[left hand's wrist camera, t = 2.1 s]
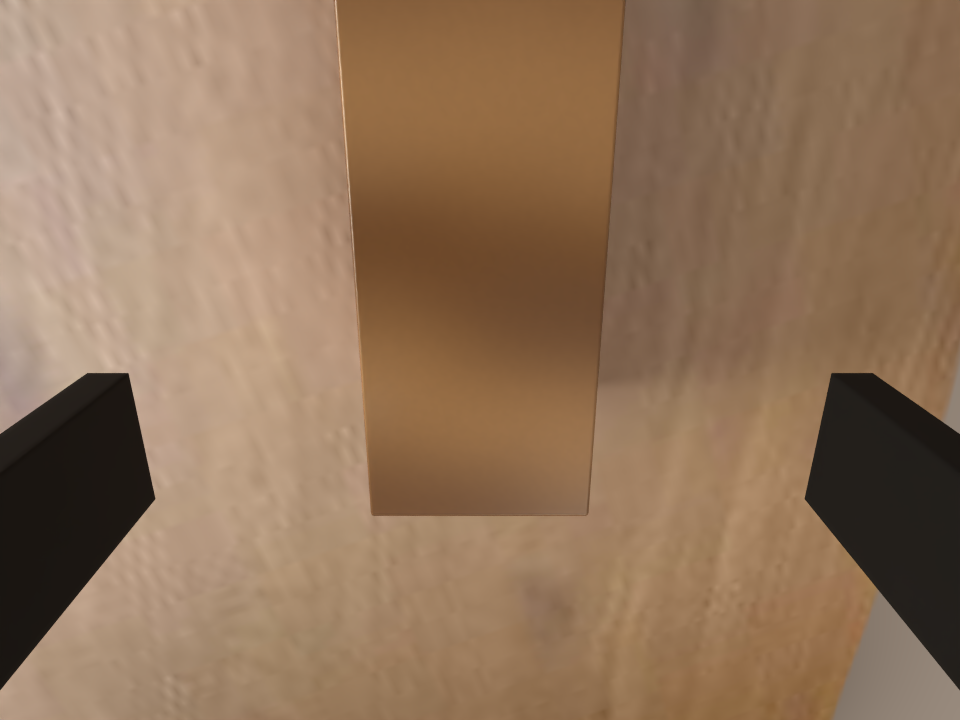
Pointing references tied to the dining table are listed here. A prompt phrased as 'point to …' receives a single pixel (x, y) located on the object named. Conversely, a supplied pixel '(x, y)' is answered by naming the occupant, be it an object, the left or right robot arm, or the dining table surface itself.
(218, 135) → the dining table surface
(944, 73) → the dining table surface
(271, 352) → the dining table surface
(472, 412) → the beam
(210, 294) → the dining table surface
